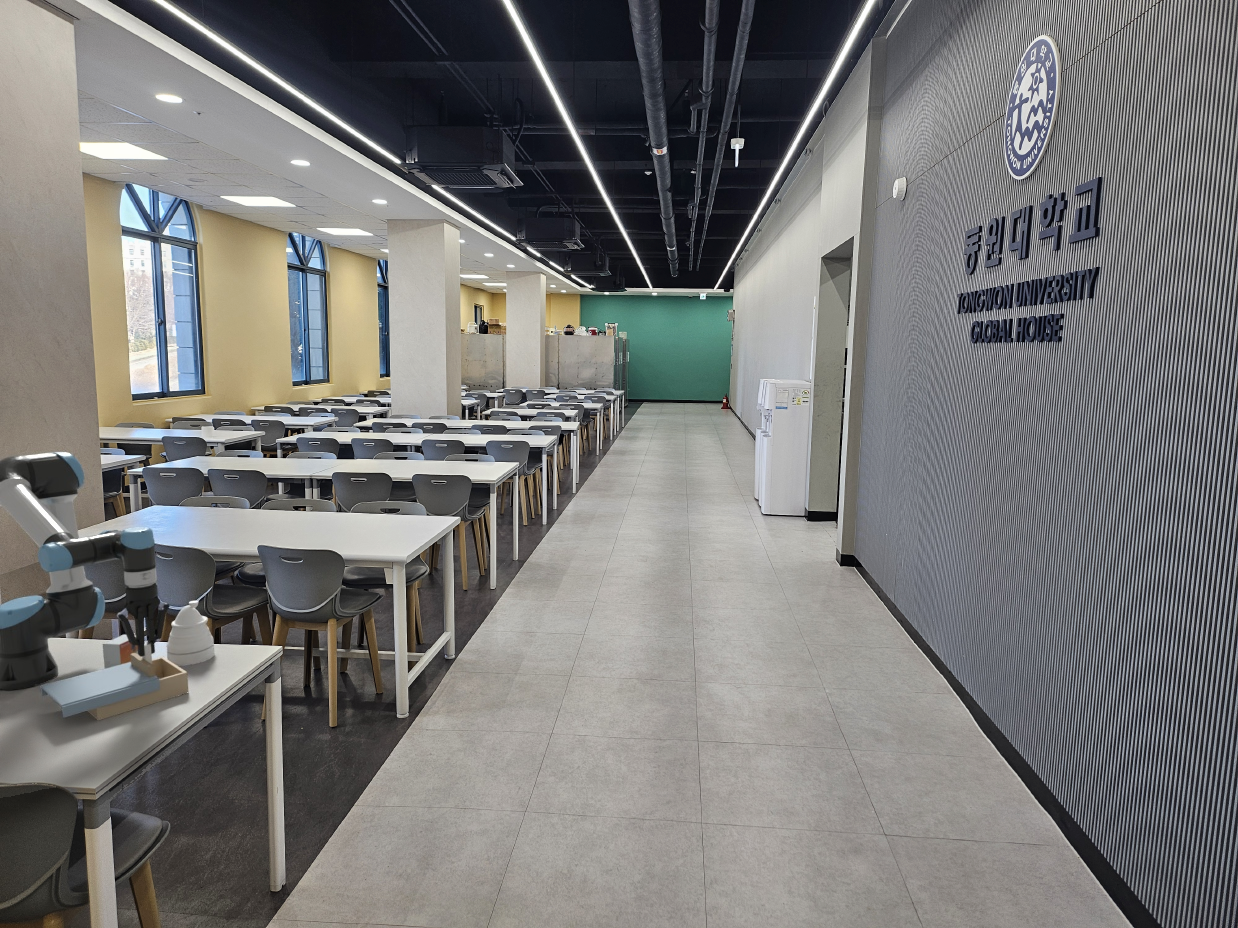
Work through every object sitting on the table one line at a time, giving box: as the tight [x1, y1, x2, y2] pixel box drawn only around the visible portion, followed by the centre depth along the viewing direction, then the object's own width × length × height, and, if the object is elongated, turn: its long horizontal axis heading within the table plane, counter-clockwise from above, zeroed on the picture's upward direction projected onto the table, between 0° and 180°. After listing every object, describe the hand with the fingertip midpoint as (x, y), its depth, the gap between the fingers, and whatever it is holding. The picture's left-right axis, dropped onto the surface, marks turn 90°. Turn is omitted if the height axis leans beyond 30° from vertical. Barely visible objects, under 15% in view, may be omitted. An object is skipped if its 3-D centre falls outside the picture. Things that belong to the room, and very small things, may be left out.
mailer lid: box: [40, 653, 160, 719], centre depth 207 cm, size 19×22×6 cm
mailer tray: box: [87, 656, 190, 721], centre depth 213 cm, size 17×22×6 cm
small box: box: [102, 634, 138, 669], centre depth 229 cm, size 8×6×10 cm
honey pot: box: [166, 600, 215, 666], centre depth 241 cm, size 13×13×18 cm
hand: (147, 665), depth 216 cm, fingers closed
